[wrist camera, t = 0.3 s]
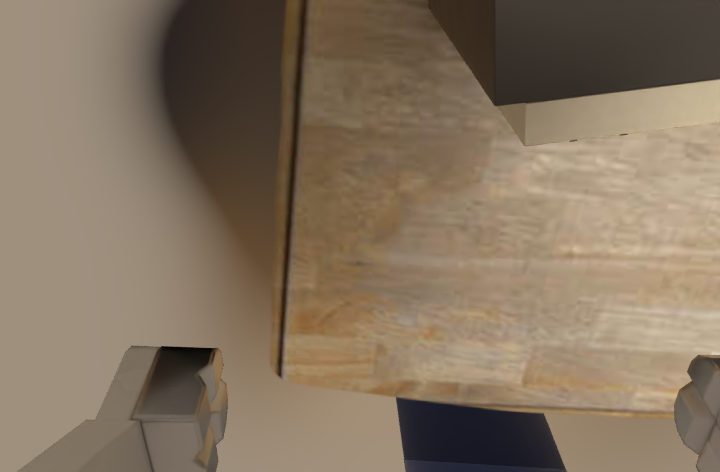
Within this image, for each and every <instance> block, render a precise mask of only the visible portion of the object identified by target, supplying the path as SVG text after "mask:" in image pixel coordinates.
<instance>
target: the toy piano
mask: <svg viewBox="0 0 720 472" xmlns="http://www.w3.org/2000/svg"><path fill="white" fill-rule="evenodd" d="M429 9H430V10H431V12H432V13H433V15H434V16H435V18H436V19H437V21H438V22H439V24H440V25H441V27H442V28H443V30H444V31H445V33H446V34H447V36H448V37H449V39H450V40H451V42H452V43H453V44H454V46H455V47H456V49H457V50H458V52H459V53H460V55H461V56H462V58H463V59H464V61H465V62H466V64H467V65H468V67H469V68H470V70H471V71H472V73H473V74H474V76H475V77H476V79H477V80H478V82H479V83H480V85H481V86H482V88H483V89H484V91H485V92H486V94H487V95H488V97H489V98H490V100H491V101H492V103H493V104H494V106H503V105H511V104H519V103H527V102H535V101H543V100H551V99H559V98H567V97H575V96H583V95H591V94H599V93H607V92H615V91H623V90H631V89H639V88H646V87H654V86H662V85H670V84H678V83H686V82H694V81H702V80H710V79H718V78H720V0H429Z"/></svg>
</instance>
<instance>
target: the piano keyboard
mask: <svg viewBox="0 0 720 472" xmlns="http://www.w3.org/2000/svg"><path fill="white" fill-rule="evenodd" d="M498 108H499V109H500V111H501V112H502V114H503V115H504V117H505V118H506V120H507V121H508V122H509V124H510V125H511V127H512V128H513V130H514V131H515V133H516V134H517V136H518V137H519V139H520V140H521V142H522V143H523V145H524V146H532V145H540V144H548V143H556V142H564V141H570V142H572V141H577V140H580V139H588V138H596V137H604V136H612V135H627V134H629V133H637V132H645V131H653V130H661V129H669V128H677V127H685V126H693V125H701V124H709V123H717V122H720V78H718V79H710V80H702V81H694V82H686V83H678V84H670V85H662V86H654V87H646V88H639V89H631V90H623V91H615V92H607V93H599V94H591V95H583V96H575V97H567V98H559V99H551V100H543V101H535V102H527V103H519V104H511V105H503V106H498Z"/></svg>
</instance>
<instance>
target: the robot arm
mask: <svg viewBox="0 0 720 472" xmlns="http://www.w3.org/2000/svg"><path fill="white" fill-rule="evenodd" d="M223 366H224V364H223V358H222V352H221V350H220V349H218V348H193V347H167V346H165V347H164V346H161V347H148V346H131V347H130V348H129V349H128V350H127V351H126V352H125V354H124V356H123V359H122V361H121V363H120V365H119V367H118V370H117V372H116V374H115V376H114V379H113V381H112V383H111V385H110V388H109V390H108V392H107V395H106V397H105V399H104V401H103V404H102V406H101V408H100V410H99V412H98V415H97V417H96V419H95V420H85V421H84V422H83V423H81V424H80V425H79V426H77V427H76V428H75V429H73V430H72V431H71V432H69V433H68V434H67V435H65V436H64V437H63V438H61V439H60V440H59V441H57V442H56V443H55V444H53V445H52V446H51V447H49V448H48V449H47V450H45V451H44V452H43V453H41V454H40V455H39V456H38V457H36V458H35V459H34V460H32V461H31V462H29V463H28V464H27V465H25V466H24V467H23V468H21V469H20V470H19V471H17V472H216V468H217V464H218V455H217V448H216V445H217V444H218V443H219V442H220V441H221V440H222V439H223V437H224V432H225V427H226V419H227V409H228V397H227V387H226V383H225V382H224V381H223V380H222V379H221V374H222V370H223ZM687 372H688V374H689V376H690V378H691V380H692V381H691V382H690V383H688V384H687V385H686V386H684V387H683V388H681V389H680V390H679V392H678V395H677V398H676V401H675V404H674V416H675V423H676V427H677V430H678V433H679V435H680V437H681V439H682V441H683V443H684V444H685V445H686V446H687V447H688V448H690V449H691V450H693V451H694V452H695V453H697V454H698V455H699V457H698V461H697V464H696V468H697V470H698V472H720V355H698V356H697V357H695V358H694V359H693V360H692V361H691V364H690V366H689V368H688V371H687Z"/></svg>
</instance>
